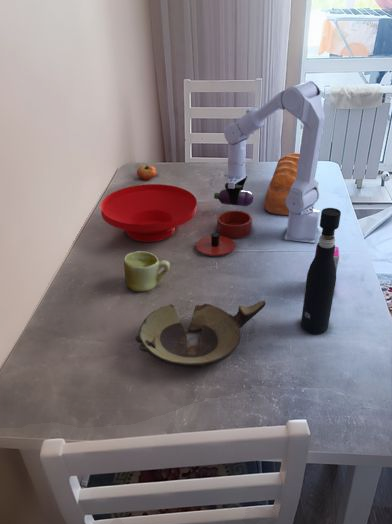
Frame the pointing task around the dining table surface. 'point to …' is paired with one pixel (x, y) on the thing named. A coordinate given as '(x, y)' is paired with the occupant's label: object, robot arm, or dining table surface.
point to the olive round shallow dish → (205, 319)
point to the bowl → (149, 210)
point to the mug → (143, 270)
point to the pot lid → (215, 245)
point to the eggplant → (243, 199)
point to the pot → (234, 224)
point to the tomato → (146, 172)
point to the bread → (281, 184)
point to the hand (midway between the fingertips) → (235, 200)
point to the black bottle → (321, 277)
